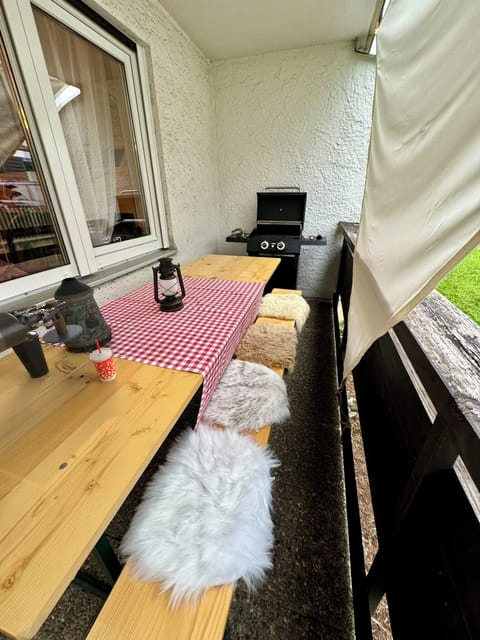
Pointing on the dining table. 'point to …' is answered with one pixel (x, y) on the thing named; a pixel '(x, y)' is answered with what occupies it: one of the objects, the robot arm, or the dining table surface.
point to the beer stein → (83, 316)
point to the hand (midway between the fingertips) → (63, 304)
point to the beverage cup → (103, 363)
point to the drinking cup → (32, 355)
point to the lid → (61, 329)
